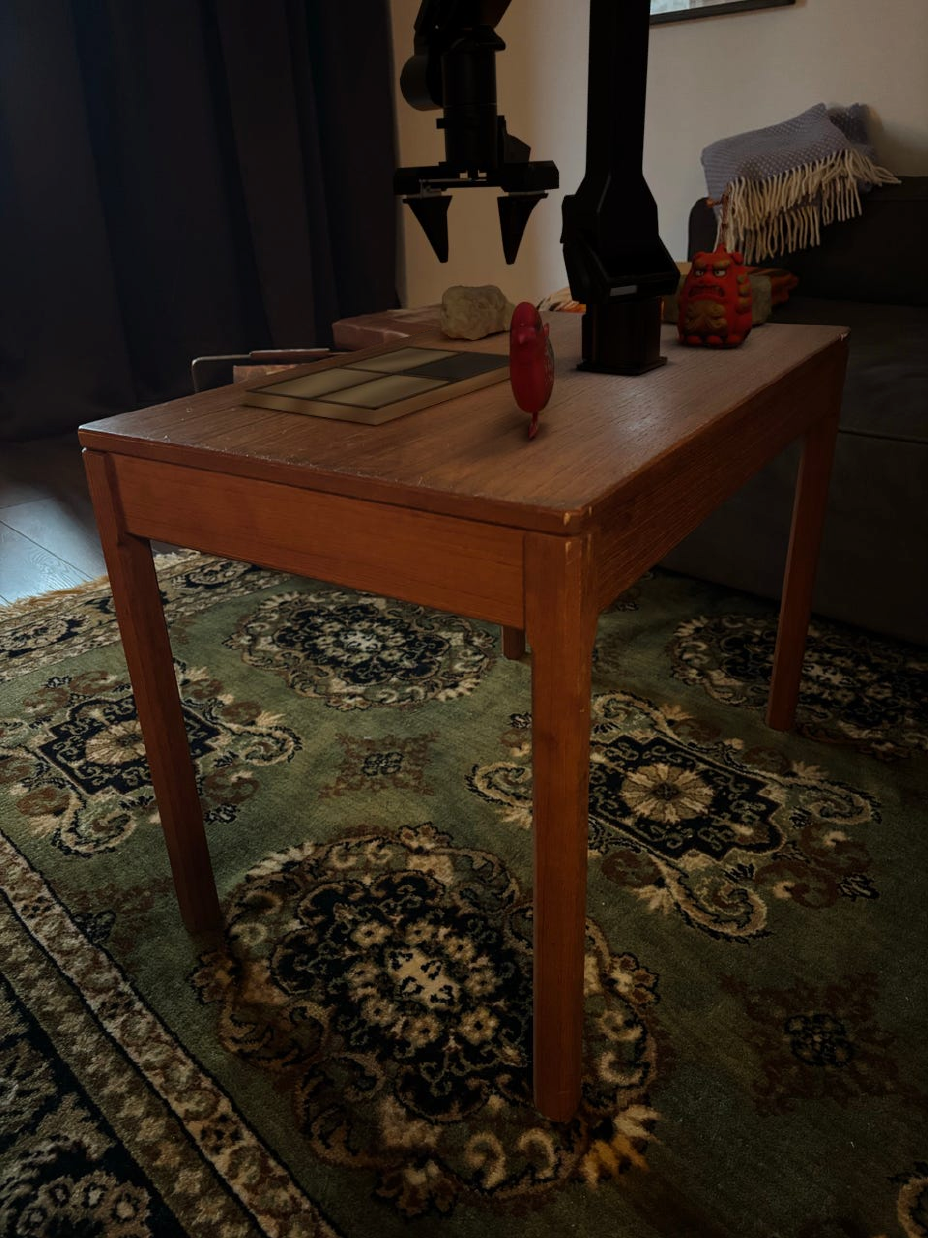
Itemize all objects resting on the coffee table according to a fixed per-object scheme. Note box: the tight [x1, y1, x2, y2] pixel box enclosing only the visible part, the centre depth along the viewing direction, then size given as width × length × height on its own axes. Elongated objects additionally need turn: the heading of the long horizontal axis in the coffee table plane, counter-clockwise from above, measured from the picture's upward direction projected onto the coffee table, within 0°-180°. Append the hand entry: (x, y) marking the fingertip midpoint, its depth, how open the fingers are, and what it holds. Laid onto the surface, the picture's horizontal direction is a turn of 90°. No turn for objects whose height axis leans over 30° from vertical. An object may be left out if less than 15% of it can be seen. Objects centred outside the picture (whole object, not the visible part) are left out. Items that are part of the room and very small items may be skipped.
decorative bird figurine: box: [508, 301, 555, 440], centre depth 71 cm, size 3×18×10 cm, turn 170°
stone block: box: [662, 273, 773, 325], centre depth 109 cm, size 6×12×5 cm, turn 57°
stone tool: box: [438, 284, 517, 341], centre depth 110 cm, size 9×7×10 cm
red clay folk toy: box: [676, 182, 754, 348], centre depth 96 cm, size 8×7×15 cm
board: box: [245, 345, 510, 426], centre depth 87 cm, size 15×22×1 cm
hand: (476, 263), depth 108 cm, fingers open, 9 cm apart
